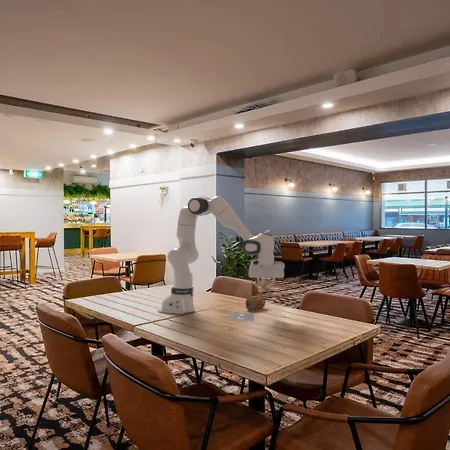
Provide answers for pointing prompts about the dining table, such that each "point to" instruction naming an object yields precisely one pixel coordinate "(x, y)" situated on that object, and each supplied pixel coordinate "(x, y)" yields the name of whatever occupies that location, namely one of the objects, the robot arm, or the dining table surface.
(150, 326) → the dining table surface
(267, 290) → the oak block
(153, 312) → the dining table surface
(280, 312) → the dining table surface
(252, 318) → the card
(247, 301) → the tin
